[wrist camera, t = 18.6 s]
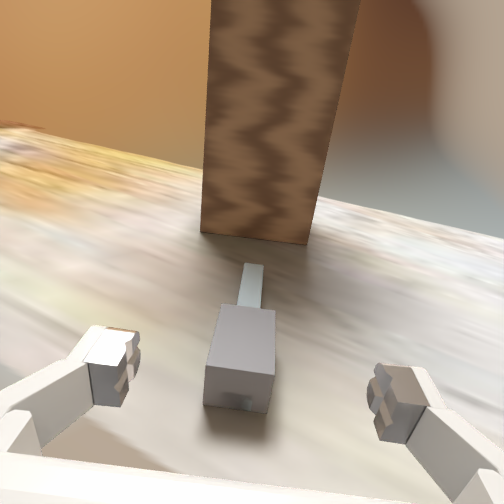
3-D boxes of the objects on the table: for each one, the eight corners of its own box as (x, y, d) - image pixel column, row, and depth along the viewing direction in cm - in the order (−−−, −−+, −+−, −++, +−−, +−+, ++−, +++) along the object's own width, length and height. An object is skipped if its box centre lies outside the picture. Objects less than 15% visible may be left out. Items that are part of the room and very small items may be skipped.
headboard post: (200, 231, 42) (216, -96, 28) (211, 205, 51) (228, -53, 37) (307, 245, 43) (376, -73, 28) (300, 217, 52) (350, -36, 37)
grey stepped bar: (266, 414, 20) (274, 374, 19) (202, 405, 20) (205, 365, 19) (271, 278, 35) (276, 249, 33) (233, 273, 35) (236, 243, 33)
